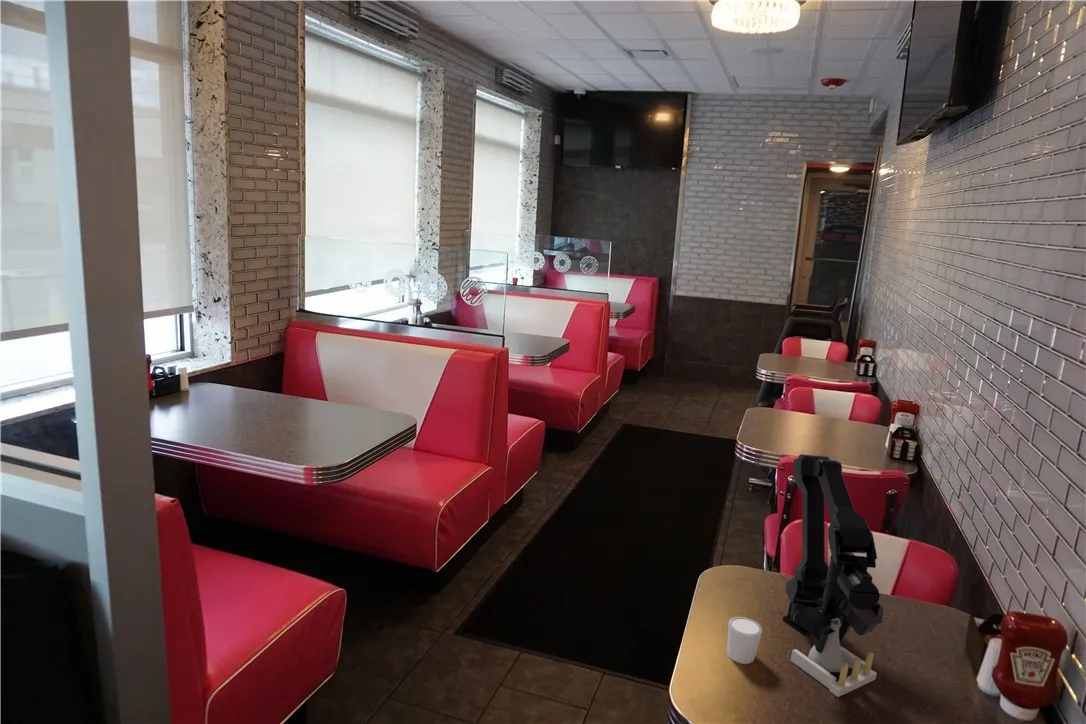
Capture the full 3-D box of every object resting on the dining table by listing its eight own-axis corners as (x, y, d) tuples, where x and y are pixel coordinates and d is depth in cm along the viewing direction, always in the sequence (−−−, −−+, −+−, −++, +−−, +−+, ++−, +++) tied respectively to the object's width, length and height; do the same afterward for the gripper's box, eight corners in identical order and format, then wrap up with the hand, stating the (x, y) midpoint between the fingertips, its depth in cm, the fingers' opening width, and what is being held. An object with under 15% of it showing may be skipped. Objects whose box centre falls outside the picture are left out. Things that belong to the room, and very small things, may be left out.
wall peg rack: (788, 661, 152) (793, 636, 150) (826, 645, 158) (830, 621, 157) (837, 697, 142) (843, 670, 141) (875, 679, 148) (881, 653, 147)
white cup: (759, 651, 154) (764, 622, 153) (754, 670, 148) (759, 640, 146) (727, 641, 157) (732, 612, 155) (720, 658, 151) (725, 629, 149)
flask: (847, 676, 147) (856, 633, 145) (809, 669, 148) (818, 626, 146) (840, 655, 154) (849, 613, 152) (804, 648, 155) (812, 607, 153)
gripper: (846, 613, 135) (831, 685, 139) (905, 591, 145) (890, 659, 149) (798, 583, 144) (785, 651, 148) (857, 564, 154) (843, 629, 158)
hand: (827, 648), depth 151 cm, fingers closed on flask, 5 cm apart
